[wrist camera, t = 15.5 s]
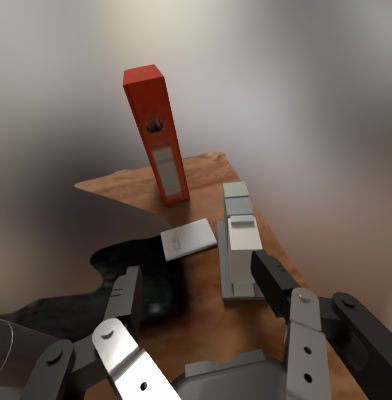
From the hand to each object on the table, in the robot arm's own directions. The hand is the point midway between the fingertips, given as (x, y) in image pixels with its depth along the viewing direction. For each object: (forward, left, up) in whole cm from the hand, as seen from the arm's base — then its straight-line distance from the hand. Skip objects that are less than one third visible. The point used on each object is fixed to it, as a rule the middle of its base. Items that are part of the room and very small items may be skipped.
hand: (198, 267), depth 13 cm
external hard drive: (-6, +20, -27) cm, 34 cm away
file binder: (-12, +42, -27) cm, 51 cm away
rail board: (+6, +15, -26) cm, 31 cm away
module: (+6, +11, -24) cm, 27 cm away
